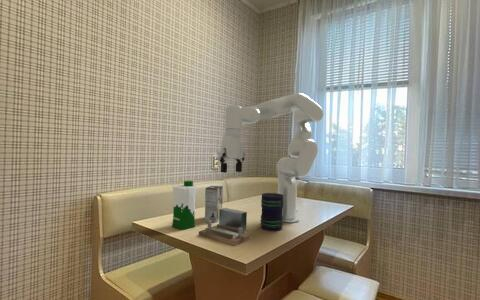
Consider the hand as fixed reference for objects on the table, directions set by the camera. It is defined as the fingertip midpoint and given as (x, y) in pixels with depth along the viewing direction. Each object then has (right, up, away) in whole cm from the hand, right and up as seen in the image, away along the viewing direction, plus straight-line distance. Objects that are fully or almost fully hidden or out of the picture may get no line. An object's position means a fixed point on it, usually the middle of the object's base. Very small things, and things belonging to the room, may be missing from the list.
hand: (231, 172), depth 117 cm
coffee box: (-9, -25, +13) cm, 30 cm away
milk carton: (-21, -24, 0) cm, 32 cm away
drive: (0, -25, -1) cm, 25 cm away
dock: (-3, -25, -12) cm, 28 cm away
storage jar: (+18, -26, +2) cm, 31 cm away
